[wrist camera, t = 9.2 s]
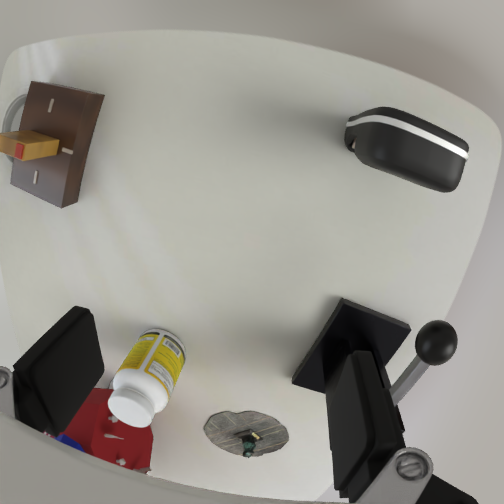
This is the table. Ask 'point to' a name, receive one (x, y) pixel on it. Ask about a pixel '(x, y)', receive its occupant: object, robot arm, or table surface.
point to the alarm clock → (108, 434)
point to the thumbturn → (28, 145)
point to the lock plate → (70, 145)
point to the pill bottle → (147, 378)
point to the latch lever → (426, 355)
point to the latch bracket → (350, 348)
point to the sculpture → (246, 433)
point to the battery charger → (407, 147)
